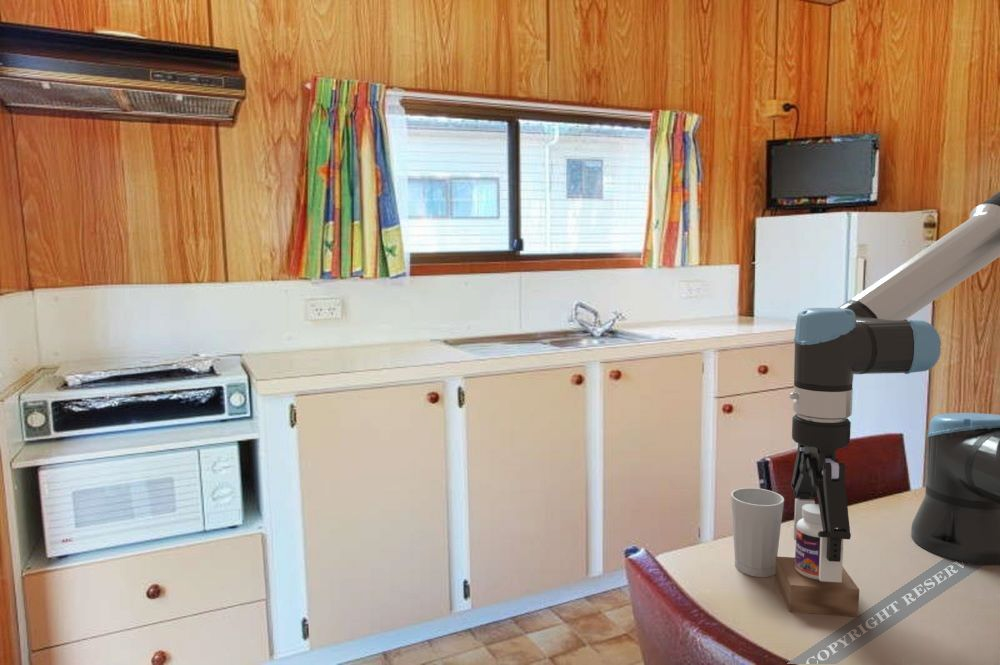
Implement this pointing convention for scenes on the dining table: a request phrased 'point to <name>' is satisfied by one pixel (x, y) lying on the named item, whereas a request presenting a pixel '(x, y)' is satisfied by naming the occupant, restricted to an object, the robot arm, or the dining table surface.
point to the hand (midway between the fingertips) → (815, 559)
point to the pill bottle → (808, 541)
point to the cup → (756, 530)
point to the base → (815, 591)
